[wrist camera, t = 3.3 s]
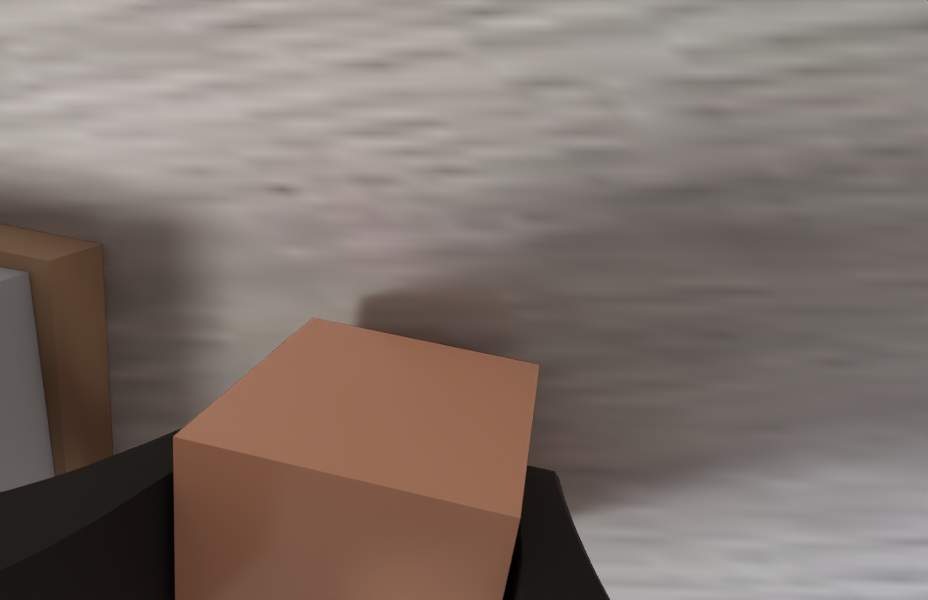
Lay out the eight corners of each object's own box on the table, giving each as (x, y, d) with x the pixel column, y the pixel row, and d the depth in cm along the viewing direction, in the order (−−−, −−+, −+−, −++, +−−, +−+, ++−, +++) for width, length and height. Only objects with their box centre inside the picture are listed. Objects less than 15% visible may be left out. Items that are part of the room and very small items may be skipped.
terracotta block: (499, 554, 13) (464, 772, 9) (299, 505, 14) (175, 690, 9) (539, 364, 12) (520, 518, 7) (312, 317, 12) (173, 436, 8)
